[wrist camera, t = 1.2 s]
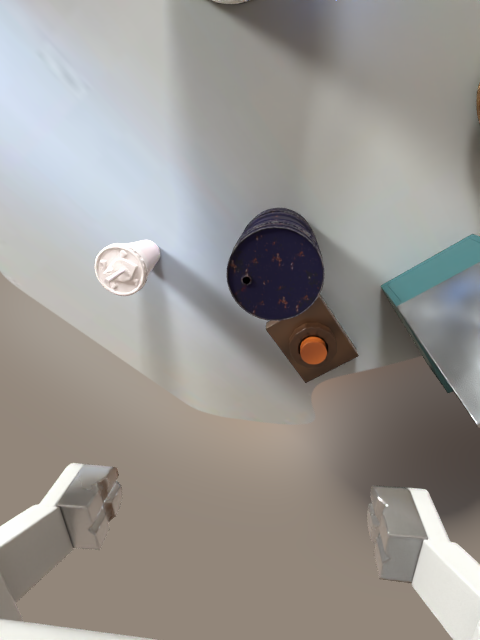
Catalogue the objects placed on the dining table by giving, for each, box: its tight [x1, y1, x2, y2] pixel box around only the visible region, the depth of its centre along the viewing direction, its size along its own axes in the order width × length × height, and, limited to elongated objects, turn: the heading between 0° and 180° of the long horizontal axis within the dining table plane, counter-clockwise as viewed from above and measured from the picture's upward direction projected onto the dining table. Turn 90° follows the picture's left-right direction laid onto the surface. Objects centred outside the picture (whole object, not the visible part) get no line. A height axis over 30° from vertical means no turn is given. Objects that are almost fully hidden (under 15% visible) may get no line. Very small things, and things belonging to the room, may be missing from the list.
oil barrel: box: [227, 208, 324, 321], centre depth 42 cm, size 10×10×15 cm
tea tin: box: [381, 234, 480, 393], centre depth 45 cm, size 15×13×8 cm
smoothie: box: [95, 240, 160, 296], centre depth 45 cm, size 6×6×14 cm
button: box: [300, 336, 327, 364], centre depth 49 cm, size 4×4×2 cm
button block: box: [266, 294, 358, 383], centre depth 52 cm, size 11×9×4 cm
